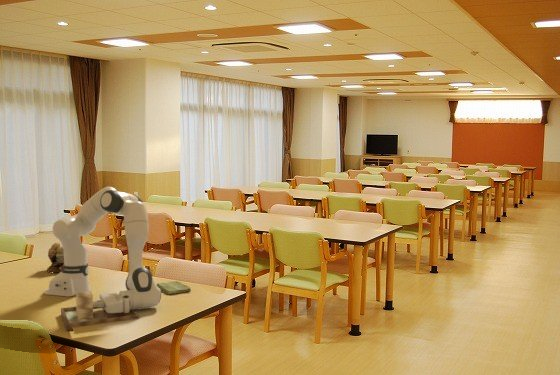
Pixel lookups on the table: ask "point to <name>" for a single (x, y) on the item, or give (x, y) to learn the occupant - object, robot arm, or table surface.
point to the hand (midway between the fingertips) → (91, 304)
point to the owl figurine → (56, 258)
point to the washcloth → (173, 287)
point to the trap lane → (72, 321)
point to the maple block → (84, 305)
